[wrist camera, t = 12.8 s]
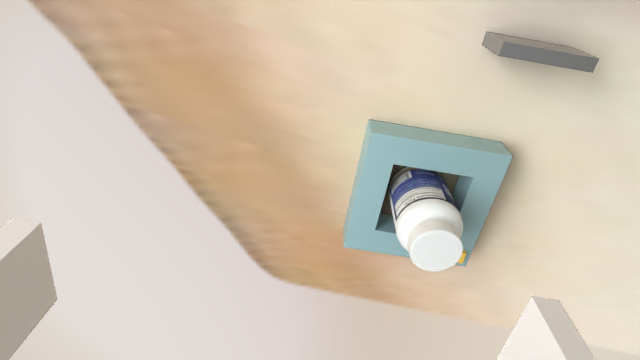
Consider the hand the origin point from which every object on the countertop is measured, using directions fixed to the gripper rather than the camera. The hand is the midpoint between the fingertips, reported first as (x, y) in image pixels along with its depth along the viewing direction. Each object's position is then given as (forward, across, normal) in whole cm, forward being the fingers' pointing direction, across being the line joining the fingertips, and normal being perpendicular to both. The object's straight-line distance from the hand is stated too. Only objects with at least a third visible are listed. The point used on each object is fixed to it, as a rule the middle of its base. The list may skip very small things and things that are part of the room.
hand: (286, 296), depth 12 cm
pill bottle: (+27, +11, -10) cm, 30 cm away
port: (+26, +11, -10) cm, 30 cm away
